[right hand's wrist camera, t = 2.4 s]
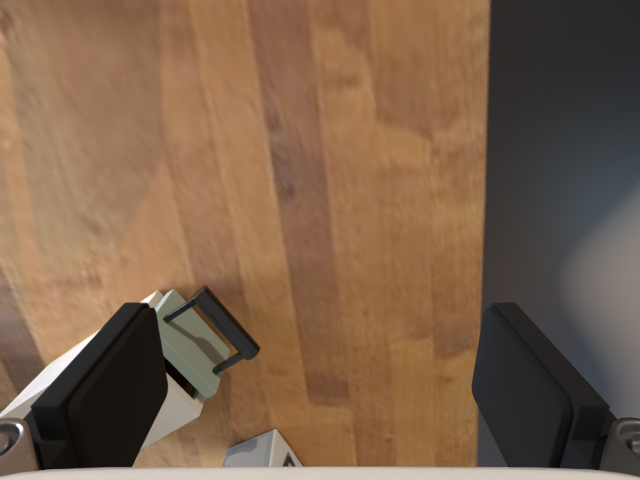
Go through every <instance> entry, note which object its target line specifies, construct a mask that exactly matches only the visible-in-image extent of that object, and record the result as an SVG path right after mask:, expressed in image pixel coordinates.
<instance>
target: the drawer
mask: <svg viewBox="0 0 640 480" xmlns="http://www.w3.org/2000/svg"><path fill="white" fill-rule="evenodd" d="M194 305H197V306H198V307H199V309H200V310H201V311H202V312H203V313H204V314H205V315H206V316H207V317H208V319H209V320H210V321H211V322H212V323H213V324H214V325H215V326H216V327H217V329H218V330H219V331H220V332H221V333H222V334H223V335H224V336H225V337H226V338H227V340H228V341H229V342H230V343H231V344H232V345H233V346H234V347H235V348H236V350H237V351H238V353H237V354H235V355H233V356H232V357H230V358H228V357H229V354H230V349H229V348H228V347H227V346H226V345H225V344H224V343H223V342H222V340H221V339H220V338H219V337H218V336H217V335H216V334H215V333H214V332H213V331H212V329H211V328H210V327H209V326H208V325H207V324H206V323H205V322H204V321H203V320H202V318H201V317H200V316H199V315H198V314H197V313H196V312H195V311H194V310H193V309H192V307H193V306H194ZM155 310H156V314H157V320H158V326H159V332H160V338H161V344H162V350H163V356H164V362H165V368H166V373H167V374H168V375H169V376H170V377H171V378H172V379H173V380H174V381H175V382H176V383H177V384H178V385H179V386H180V387H181V388H182V389H183V390H184V391H185V392H186V393H187V394H188V395H190V393H191V390H192V388H193V386H194V387H195V388H196V389H197V390H198V391H199V392H200V393H201V394H202V395H203V396H204V397H205V398H206V399H208V398H210V397H212V396H213V395H215V394H216V392H217V389H218V386H219V383H220V380H221V378H222V375H223V372H224V370H225V369H227V368H228V367H230V366H232V365H233V364H235V363H237V362H238V361H240V360H242V359H243V358H245V360H250V359H252V358H254V357H255V356H256V355H257V354H258V352H259V351H260V346H259V345H258V344H257V343H256V342H255V341H254V339H253V338H252V337H251V336H250V335H249V334H248V333H247V331H246V330H245V329H244V328H243V327H242V326H241V325H240V323H239V322H238V321H237V320H236V319H235V318H234V317H233V315H232V314H231V313H230V312H229V311H228V310H227V309H226V307H225V306H224V305H223V304H222V303H221V302H220V301H219V299H218V298H217V297H216V296H215V295H214V294H213V293H212V291H211V290H210V289H209V288H208V287H207V286H203V287H202V288H200V289H199V290H197V291H196V292H195V293H194V294H193V295H192V297H191V299H190V300H188V301H187V302H186V301H185V300H184V299H183V298H182V296H181V295H180V294H179V293H178V292H177V291H176V290H175V289H173V290H171V291H170V292H168V293H167V294H166V295H165V296H164V297H163V299H162V300H161V301H160V303H159V304H158V305H157V307H156V308H155Z"/></svg>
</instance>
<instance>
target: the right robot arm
mask: <svg viewBox="0 0 640 480" xmlns="http://www.w3.org/2000/svg"><path fill="white" fill-rule="evenodd" d="M167 393H168V381H167V374H166V368H165V362H164V356H163V350H162V344H161V338H160V332H159V326H158V320H157V314H156V310H155V308H150V306H149V304H148V303H125V304H123V305H122V306H121V308H120V309H119V310H118V311H117V312H116V313H115V314H114V315H113V316H112V317H111V319H110V320H109V321H108V322H107V323H106V324H105V325H104V326H103V327H102V328H101V329H100V331H99V332H98V333H97V334H96V335H95V336H94V337H93V338H92V339H91V340H90V342H89V343H88V344H87V345H86V346H85V347H84V348H83V349H82V350H81V351H80V353H79V354H78V355H77V356H76V357H75V358H74V359H73V360H72V361H71V362H70V363H69V365H68V366H67V367H66V368H65V369H64V370H63V371H62V372H61V373H60V374H59V376H58V377H57V378H56V379H55V380H54V381H53V382H52V383H51V384H50V385H49V386H48V388H47V389H46V390H45V391H44V392H43V393H42V394H41V395H40V396H39V397H38V399H37V400H36V401H35V402H34V403H33V404H32V405H31V406H30V407H31V411H30V412H29V413H28V414H27V415H26V416H25V417H24V418H23V419H20V418H11V417H8V418H2V419H0V480H640V419H638V418H631V417H629V418H620V419H617V418H616V417H615V416H614V415H613V414H612V413H611V412H610V411H609V405H608V404H607V403H606V402H605V401H604V400H603V399H602V397H601V396H600V395H599V394H598V393H597V392H596V391H595V390H594V389H593V388H592V386H591V385H590V384H589V383H588V382H587V381H586V380H585V379H584V378H583V377H582V376H581V374H580V373H579V372H578V371H577V370H576V369H575V368H574V367H573V366H572V365H571V363H570V362H569V361H568V360H567V359H566V358H565V357H564V356H563V355H562V354H561V353H560V351H559V350H558V349H557V348H556V347H555V346H554V345H553V344H552V343H551V342H550V340H549V339H548V338H547V337H546V336H545V335H544V334H543V333H542V332H541V331H540V329H539V328H538V327H537V326H536V325H535V324H534V323H533V322H532V321H531V320H530V319H529V317H528V316H527V315H526V314H525V313H524V312H523V311H522V310H521V309H520V308H519V306H518V305H517V304H515V303H492V304H491V306H490V308H486V309H485V310H484V314H483V320H482V326H481V332H480V338H479V344H478V350H477V356H476V362H475V368H474V374H473V381H472V393H473V397H474V399H475V401H476V403H477V405H478V407H479V409H480V411H481V413H482V415H483V417H484V419H485V421H486V423H487V425H488V427H489V429H490V431H491V433H492V435H493V437H494V439H495V441H496V443H497V445H498V447H499V449H500V451H501V453H502V455H503V457H504V459H505V461H506V463H507V465H508V467H132V465H133V463H134V461H135V459H136V457H137V455H138V453H139V451H140V449H141V447H142V445H143V443H144V441H145V439H146V437H147V435H148V433H149V431H150V429H151V427H152V425H153V423H154V421H155V419H156V417H157V415H158V413H159V411H160V409H161V407H162V405H163V403H164V401H165V399H166V397H167Z"/></svg>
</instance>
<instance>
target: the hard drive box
mask: <svg viewBox="0 0 640 480" xmlns="http://www.w3.org/2000/svg"><path fill="white" fill-rule="evenodd" d="M223 467H303V466H302V464H301V463H300V461H299V460H298V459H297V457H296V456H295V454H294V452H293V451H292V449H291V448H290V447H289V445H288V444H287V443H286V442H285V440H284V439H283V438H282V436H281V435H280V434H279V432H278V431H277V429H274V430H271V431H269V432H267V433H264V434H262V435H259V436H257V437H254V438H252V439H249V440H247V441H244V442H242V443H240V444H237V445H235V446H232V447H230V448H228V449H227V452H226V456H225V459H224V463H223Z"/></svg>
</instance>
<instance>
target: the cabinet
mask: <svg viewBox="0 0 640 480" xmlns="http://www.w3.org/2000/svg"><path fill="white" fill-rule="evenodd" d="M163 297H164V296H163V295H162V294H161V292H160V291H159V290H157V291H156V292H154V293H153V294H151V295H150V296H148V297H147V298H146V299H144V300H143V301H141V302H140V303H148V304H149V306H150V308H156V307H157V305H158V304H159V303H160V301H161V300H162V299H163ZM99 331H100V330H98V331H97V332H95V333H94V334H92V335H91V336H89V337H88V338H86V339H85V340H83V341H82V342H80V343H79V344H77V345H76V346H74V347H73V348H72V349H70V350H69V351H67V352H66V353H64V354H63V355H61V356H60V357H58V358H57V359H55V360H54V361H52V362H51V363H49V364H48V365H47V366H46V367H45V369H44V370H43V371H42V372H41V373H40V374H39V375H38V376H37V377H36V378H35V379H34V380H33V381H32V382H31V383H30V384H29V385H28V386H27V387H26V388H25V389H24V390H23V391H22V392H21V393H20V394H19V395H18V396H17V397H16V398H15V399H14V400H13V401H12V402H11V403H10V404H9V405H8V406H7V407H6V408H5V409H4V410H3V411H2V413H1V414H0V419H2V418H8V417H11V418H20V419H23V418H24V417H25V416H26V415H27V414H28V413H29V412H30V411H31V407H30V406H31V405H32V404H33V403H34V402H35V401H36V400H37V399H38V397H39V396H40V395H41V394H42V393H43V392H44V391H45V390H46V389H47V388H48V386H49V385H50V384H51V383H52V382H53V381H54V380H55V379H56V378H57V377H58V376H59V374H60V373H61V372H62V371H63V370H64V369H65V368H66V367H67V366H68V365H69V363H70V362H71V361H72V360H73V359H74V358H75V357H76V356H77V355H78V354H79V353H80V351H81V350H82V349H83V348H84V347H85V346H86V345H87V344H88V343H89V342H90V340H91V339H92V338H93V337H94V336H95V335H96V334H97V333H98V332H99ZM166 374H167V373H166ZM167 381H168V393H167V397H166V399H165V401H164V403H163V405H162V407H161V409H160V411H159V413H158V415H157V417H156V419H155V421H154V423H153V425H152V427H151V429H150V431H149V433H148V435H147V437H146V439H145V441H144V443H143V445H142V447H141V449H140V450H142V449H144V448H146V447H147V446H149V445H151V444H153V443H154V442H156V441H158V440H160V439H161V438H163V437H165V436H166V435H168V434H170V433H172V432H173V431H175V430H177V429H179V428H180V427H182V426H184V425H186V424H187V423H189V422H191V421H193V420H194V419H196V418H198V417H199V416H200V413H201V411H202V408H203V405H204V402H205V400H206V398H205V397H204V396H203V395H202V394H201V393H200V392H199V391H198V390H197V389H196V388H195V387H194V386H193V388H192V390H191V393H190V395H188V394H187V393H186V392H185V391H184V390H183V389H182V388H181V387H180V386H179V385H178V384H177V383H176V382H175V381H174V380H173V379H172V378H171V377H170V376H169V375H168V374H167Z"/></svg>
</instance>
